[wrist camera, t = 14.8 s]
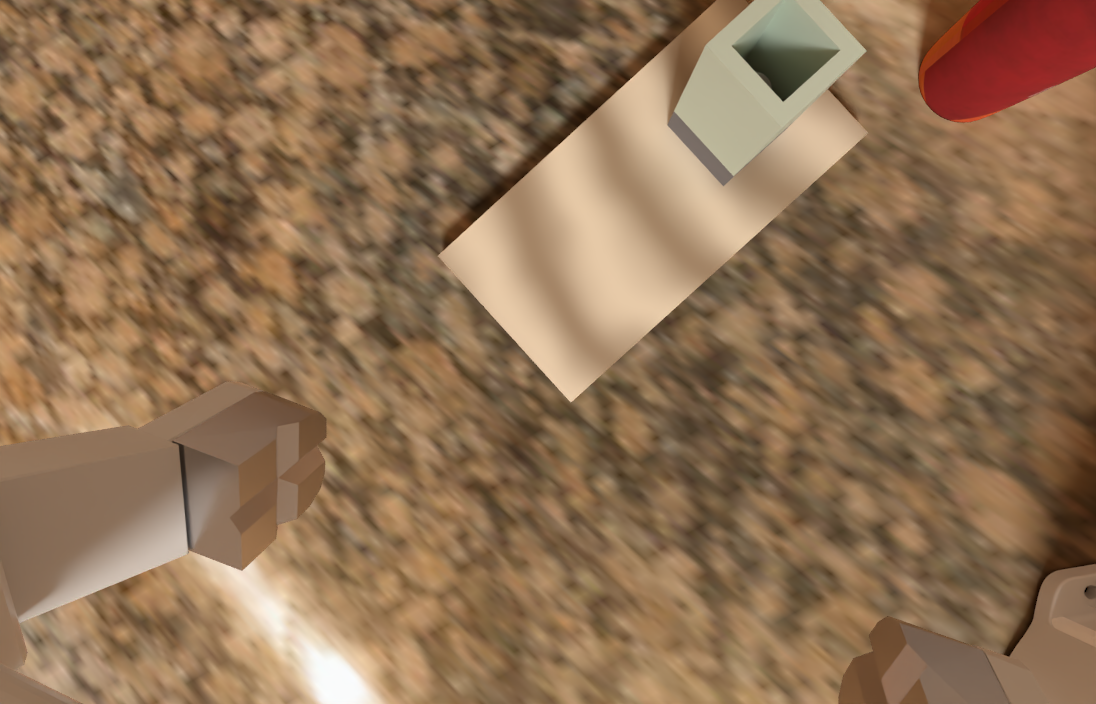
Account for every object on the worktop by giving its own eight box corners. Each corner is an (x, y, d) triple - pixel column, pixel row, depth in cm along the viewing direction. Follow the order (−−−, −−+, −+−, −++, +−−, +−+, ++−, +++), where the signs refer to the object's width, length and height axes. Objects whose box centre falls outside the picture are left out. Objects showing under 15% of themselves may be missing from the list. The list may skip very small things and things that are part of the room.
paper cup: (1023, 142, 35) (1327, 5, 21) (898, 138, 36) (1119, 0, 22) (1028, 16, 35) (1336, -204, 21) (903, 12, 35) (1127, -208, 21)
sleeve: (729, 68, 34) (789, -33, 25) (785, 130, 34) (866, 50, 25) (667, 125, 34) (705, 44, 25) (723, 186, 34) (781, 127, 25)
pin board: (724, 1, 36) (762, -77, 29) (855, 142, 36) (921, 95, 29) (442, 259, 36) (417, 239, 30) (570, 400, 36) (572, 411, 29)
